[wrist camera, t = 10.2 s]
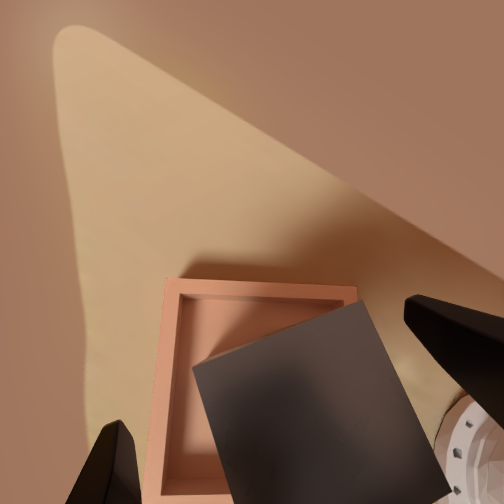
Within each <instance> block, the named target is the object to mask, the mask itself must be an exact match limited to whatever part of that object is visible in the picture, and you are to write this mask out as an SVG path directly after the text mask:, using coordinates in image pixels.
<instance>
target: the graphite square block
mask: <svg viewBox="0 0 504 504" xmlns="http://www.w3.org/2000/svg"><path fill="white" fill-rule="evenodd" d="M192 370H193V374H194V377H195V380H196V383H197V387H198V390H199V393H200V396H201V399H202V403H203V406H204V409H205V412H206V416H207V419H208V422H209V425H210V429H211V432H212V435H213V438H214V441H215V445H216V448H217V451H218V454H219V458H220V461H221V464H222V467H223V470H224V474H225V477H226V480H227V483H228V487H229V490H230V493H231V496H232V499H233V503H234V504H432V503H434V502H436V501H438V500H439V499H441V498H443V497H444V496H446V495H448V494H450V493H451V492H452V490H451V488H450V485H449V483H448V481H447V479H446V477H445V475H444V473H443V471H442V468H441V466H440V464H439V462H438V460H437V458H436V456H435V454H434V451H433V449H432V447H431V445H430V443H429V441H428V439H427V437H426V434H425V432H424V430H423V428H422V426H421V424H420V422H419V420H418V417H417V415H416V413H415V411H414V409H413V407H412V405H411V403H410V401H409V398H408V396H407V394H406V392H405V390H404V388H403V386H402V384H401V381H400V379H399V377H398V375H397V373H396V371H395V369H394V367H393V364H392V362H391V360H390V358H389V356H388V354H387V352H386V350H385V347H384V345H383V343H382V341H381V339H380V337H379V335H378V333H377V330H376V328H375V326H374V324H373V322H372V320H371V318H370V316H369V313H368V311H367V309H366V307H365V305H364V303H363V301H362V300H360V301H357V302H354V303H352V304H349V305H346V306H343V307H340V308H338V309H335V310H332V311H329V312H326V313H324V314H321V315H318V316H315V317H312V318H310V319H307V320H304V321H301V322H298V323H296V324H293V325H290V326H287V327H284V328H282V329H279V330H276V331H274V332H271V333H269V334H266V335H264V336H261V337H259V338H256V339H254V340H251V341H249V342H246V343H244V344H241V345H238V346H236V347H233V348H231V349H228V350H226V351H223V352H221V353H218V354H216V355H213V356H211V357H208V358H206V359H204V360H203V361H201V362H200V363H198V364H197V365H195V366H193V367H192Z"/></svg>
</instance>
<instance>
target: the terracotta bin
mask: <svg viewBox="0 0 504 504" xmlns="http://www.w3.org/2000/svg"><path fill="white" fill-rule="evenodd" d="M357 301H358V297H357V286H337V285H315V284H293V283H271V282H249V281H227V280H205V279H183V278H166V279H165V289H164V298H163V307H162V316H161V325H160V334H159V343H158V353H157V362H156V371H155V380H154V389H153V398H152V407H151V417H150V426H149V435H148V444H147V453H146V462H145V471H144V481H143V490H142V504H234V503H233V499H232V496H231V493H230V490H229V487H228V483H227V480H226V477H225V474H224V470H223V467H222V464H221V461H220V458H219V454H218V451H217V448H216V445H215V441H214V438H213V435H212V432H211V429H210V425H209V422H208V419H207V416H206V412H205V409H204V406H203V403H202V399H201V396H200V393H199V390H198V387H197V383H196V380H195V377H194V374H193V370H192V367H193V366H195V365H197V364H198V363H200V362H201V361H203V360H204V359H206V358H208V357H211V356H213V355H216V354H218V353H221V352H223V351H226V350H228V349H231V348H233V347H236V346H238V345H241V344H244V343H246V342H249V341H251V340H254V339H256V338H259V337H261V336H264V335H266V334H269V333H271V332H274V331H276V330H279V329H282V328H284V327H287V326H290V325H293V324H296V323H298V322H301V321H304V320H307V319H310V318H312V317H315V316H318V315H321V314H324V313H326V312H329V311H332V310H335V309H338V308H340V307H343V306H346V305H349V304H352V303H354V302H357Z"/></svg>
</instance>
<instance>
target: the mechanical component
mask: <svg viewBox="0 0 504 504" xmlns="http://www.w3.org/2000/svg"><path fill="white" fill-rule="evenodd" d="M434 454H435V456H436V458H437V460H438V462H439V464H440V466H441V468H442V471H443V473H444V475H445V477H446V479H447V481H448V483H449V485H450V488H451V490H452V492H451V493H450V494H448V495H446V496H444V497H443V498H441V499H439V500H438V504H504V430H503V429H502V428H501V427H500V426H499V425H498V424H497V423H496V422H495V421H494V420H493V419H492V418H491V417H490V416H489V415H488V414H487V413H486V412H485V411H484V409H483V408H482V407H481V406H480V405H479V404H478V403H477V402H476V401H475V400H474V399H473V398H472V397H471V396H470V395H467V396H465V397H463V398H461V399H460V400H459V401H458V402H457V403H456V404H455V405H454V406H453V408H452V409H451V410H450V411H449V412H448V413H447V414H446V415H445V418H444V420H443V423H442V425H441V428H440V430H439V433H438V435H437V438H436V441H435V448H434Z"/></svg>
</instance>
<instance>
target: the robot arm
mask: <svg viewBox="0 0 504 504" xmlns="http://www.w3.org/2000/svg"><path fill="white" fill-rule="evenodd" d="M404 321H405V323H406V325H407V326H408V327H409V328H410V330H411V331H412V332H413V333H414V335H415V336H416V337H417V338H418V339H419V341H420V342H421V343H422V344H423V346H424V347H425V348H426V349H427V350H428V352H429V353H430V354H431V355H432V357H433V358H434V359H435V360H436V361H437V362H438V364H439V365H440V366H441V367H442V368H443V369H444V370H445V371H446V372H447V373H448V374H449V375H450V376H451V377H452V378H453V379H454V380H455V381H456V382H457V383H458V384H459V385H460V386H461V387H462V388H463V389H464V390H465V391H466V392H467V393H468V394H469V395H470V396H471V397H472V398H473V399H474V400H475V401H476V402H477V403H478V404H479V405H480V406H481V407H482V408H483V409H484V411H485V412H486V413H487V414H488V415H489V416H490V417H491V418H492V419H493V420H494V421H495V422H496V423H497V424H498V425H499V426H500V427H501V428H502V429H503V430H504V318H502V317H498V316H494V315H491V314H487V313H484V312H480V311H477V310H473V309H469V308H466V307H462V306H459V305H455V304H452V303H448V302H444V301H441V300H437V299H434V298H430V297H426V296H423V295H418V294H417V295H414V296H411V297H409V298H407V299H406V300H405V306H404ZM65 504H142V498H141V490H140V482H139V475H138V467H137V459H136V451H135V444H134V440H133V437H132V435H131V434H130V432H129V431H128V429H127V428H126V426H125V425H124V423H123V422H122V421H121V420H116V421H113V422H111V423H109V424H107V425H105V426H104V427H103V428H102V430H101V432H100V434H99V436H98V438H97V440H96V442H95V444H94V446H93V448H92V450H91V452H90V454H89V456H88V458H87V461H86V462H85V465H84V466H83V468H82V470H81V472H80V475H79V476H78V479H77V481H76V483H75V485H74V487H73V489H72V491H71V493H70V495H69V497H68V499H67V501H66V503H65Z"/></svg>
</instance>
